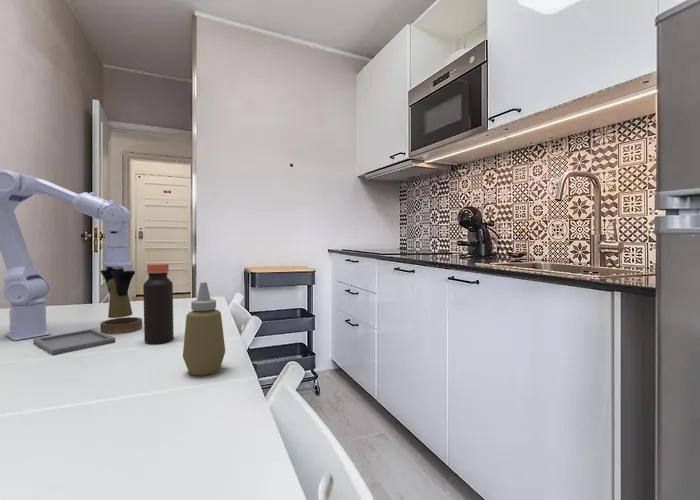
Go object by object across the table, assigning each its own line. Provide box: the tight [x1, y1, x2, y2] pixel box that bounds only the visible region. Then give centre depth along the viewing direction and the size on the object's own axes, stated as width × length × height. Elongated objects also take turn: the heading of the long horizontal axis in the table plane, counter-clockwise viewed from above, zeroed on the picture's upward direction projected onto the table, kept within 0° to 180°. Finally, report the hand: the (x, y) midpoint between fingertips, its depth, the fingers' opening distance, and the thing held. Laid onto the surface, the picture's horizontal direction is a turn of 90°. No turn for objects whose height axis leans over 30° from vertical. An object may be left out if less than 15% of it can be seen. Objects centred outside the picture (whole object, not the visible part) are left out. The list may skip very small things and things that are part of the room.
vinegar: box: [142, 262, 175, 345], centre depth 96 cm, size 7×7×20 cm
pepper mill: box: [107, 278, 133, 319], centre depth 107 cm, size 6×6×11 cm
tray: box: [33, 328, 116, 356], centre depth 95 cm, size 15×13×1 cm
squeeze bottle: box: [182, 281, 226, 377], centre depth 75 cm, size 8×8×18 cm
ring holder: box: [99, 316, 143, 335], centre depth 108 cm, size 10×10×2 cm
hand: (118, 294), depth 107 cm, fingers closed on pepper mill, 5 cm apart
